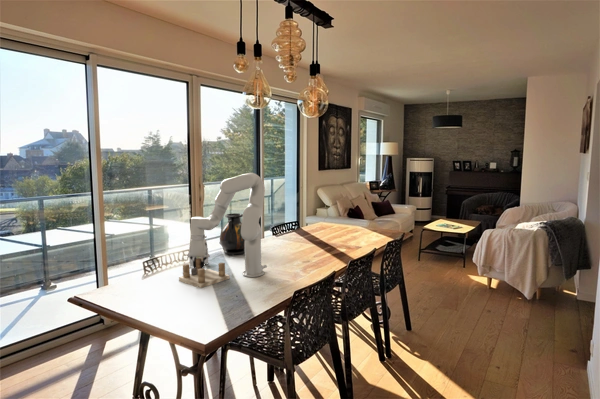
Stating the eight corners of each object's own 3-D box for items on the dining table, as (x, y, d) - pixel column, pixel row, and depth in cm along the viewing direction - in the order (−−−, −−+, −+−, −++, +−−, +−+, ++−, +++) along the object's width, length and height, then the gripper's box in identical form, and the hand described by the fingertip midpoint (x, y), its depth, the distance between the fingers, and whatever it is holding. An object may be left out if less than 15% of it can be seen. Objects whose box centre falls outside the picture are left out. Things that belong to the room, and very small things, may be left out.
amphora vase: (245, 257, 267) (244, 217, 263) (215, 256, 270) (214, 216, 267) (253, 249, 288) (252, 212, 284) (226, 248, 291) (225, 212, 288)
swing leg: (197, 268, 233) (196, 257, 232) (202, 268, 233) (202, 257, 232) (190, 275, 221) (189, 263, 220) (196, 275, 221) (195, 263, 220)
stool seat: (207, 272, 233) (207, 257, 232) (229, 278, 221) (229, 263, 220) (179, 280, 218) (178, 265, 217) (200, 288, 206) (199, 271, 204)
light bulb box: (201, 262, 255) (200, 246, 254) (208, 263, 252) (208, 247, 250) (189, 266, 246) (188, 249, 245) (196, 267, 243) (196, 251, 241)
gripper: (213, 236, 231) (214, 266, 233) (187, 235, 234) (188, 265, 236) (208, 239, 224) (209, 270, 226) (181, 238, 226) (182, 268, 228)
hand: (198, 267), depth 231 cm, fingers closed on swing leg, 3 cm apart
